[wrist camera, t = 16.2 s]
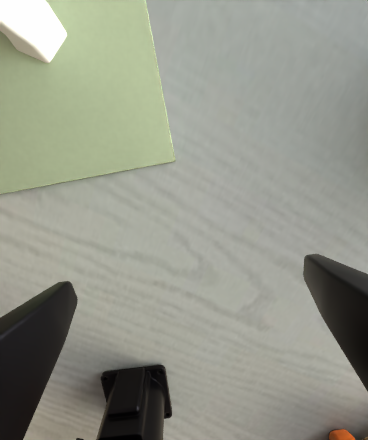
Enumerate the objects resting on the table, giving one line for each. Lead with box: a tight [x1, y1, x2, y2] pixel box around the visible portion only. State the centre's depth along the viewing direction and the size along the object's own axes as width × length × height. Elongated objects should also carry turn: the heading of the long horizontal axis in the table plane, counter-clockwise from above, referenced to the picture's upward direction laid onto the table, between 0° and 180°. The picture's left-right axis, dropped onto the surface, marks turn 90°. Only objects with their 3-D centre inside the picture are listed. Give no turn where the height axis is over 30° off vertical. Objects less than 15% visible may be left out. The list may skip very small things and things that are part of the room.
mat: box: [0, 0, 175, 194], centre depth 17 cm, size 22×16×1 cm
